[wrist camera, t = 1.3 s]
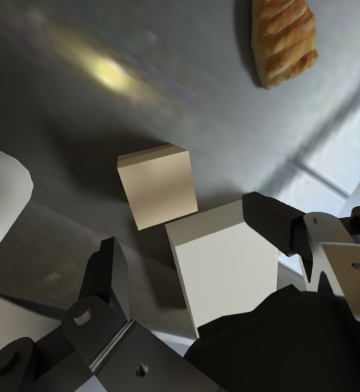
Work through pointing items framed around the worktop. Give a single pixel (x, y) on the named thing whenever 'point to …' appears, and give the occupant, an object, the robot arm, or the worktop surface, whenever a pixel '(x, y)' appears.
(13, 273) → the worktop surface
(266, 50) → the pastry
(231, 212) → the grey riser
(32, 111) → the worktop surface
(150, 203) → the maple block
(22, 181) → the foam cup
